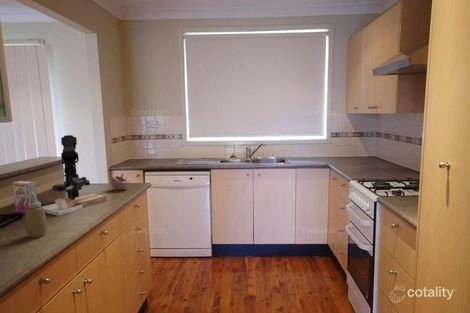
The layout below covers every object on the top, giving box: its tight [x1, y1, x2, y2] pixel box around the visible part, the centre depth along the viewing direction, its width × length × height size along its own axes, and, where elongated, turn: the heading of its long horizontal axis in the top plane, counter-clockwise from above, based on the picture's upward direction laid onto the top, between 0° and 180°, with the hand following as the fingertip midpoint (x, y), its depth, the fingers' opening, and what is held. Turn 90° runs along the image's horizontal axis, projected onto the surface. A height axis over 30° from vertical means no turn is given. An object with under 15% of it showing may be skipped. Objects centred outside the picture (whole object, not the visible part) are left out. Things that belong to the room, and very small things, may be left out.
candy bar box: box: [11, 180, 38, 215], centre depth 163 cm, size 11×5×16 cm, turn 71°
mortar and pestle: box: [110, 173, 130, 191], centre depth 211 cm, size 12×12×12 cm
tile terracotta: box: [65, 198, 76, 208], centre depth 171 cm, size 5×5×2 cm
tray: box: [42, 203, 83, 217], centre depth 168 cm, size 16×14×2 cm
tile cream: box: [54, 198, 68, 210], centre depth 167 cm, size 5×5×2 cm
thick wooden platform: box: [66, 193, 107, 209], centre depth 181 cm, size 14×16×3 cm
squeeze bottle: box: [24, 194, 48, 239], centre depth 131 cm, size 8×8×18 cm
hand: (73, 200), depth 173 cm, fingers closed
